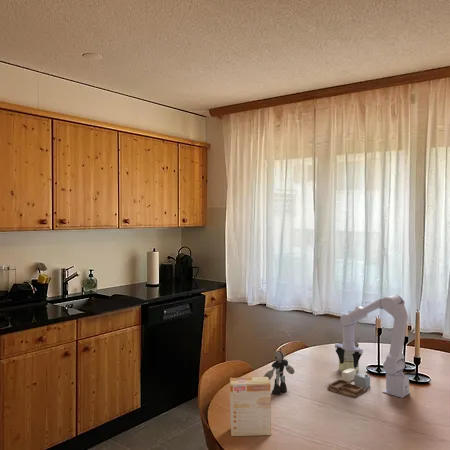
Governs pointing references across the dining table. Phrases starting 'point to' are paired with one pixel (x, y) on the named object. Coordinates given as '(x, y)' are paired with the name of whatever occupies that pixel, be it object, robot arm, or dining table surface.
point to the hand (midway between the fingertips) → (348, 365)
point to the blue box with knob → (362, 380)
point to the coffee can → (348, 360)
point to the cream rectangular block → (348, 374)
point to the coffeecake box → (250, 406)
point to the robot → (279, 372)
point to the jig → (346, 388)
